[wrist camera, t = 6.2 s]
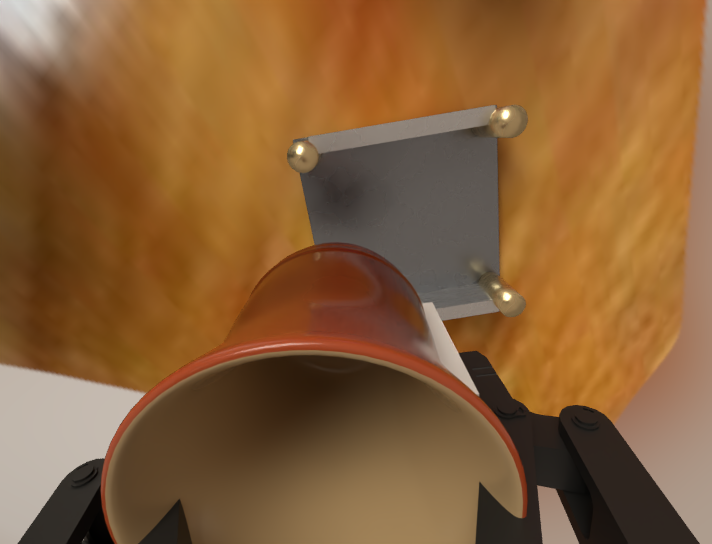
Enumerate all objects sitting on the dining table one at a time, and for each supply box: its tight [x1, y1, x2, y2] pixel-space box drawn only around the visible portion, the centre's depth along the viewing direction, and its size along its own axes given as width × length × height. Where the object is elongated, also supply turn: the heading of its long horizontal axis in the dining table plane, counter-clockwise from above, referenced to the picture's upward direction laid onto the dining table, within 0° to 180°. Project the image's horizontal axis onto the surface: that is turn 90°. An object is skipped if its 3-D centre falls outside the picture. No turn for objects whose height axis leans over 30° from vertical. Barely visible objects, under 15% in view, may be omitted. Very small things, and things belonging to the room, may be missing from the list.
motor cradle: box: [287, 105, 528, 321], centre depth 29 cm, size 16×16×6 cm
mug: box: [101, 242, 528, 544], centre depth 13 cm, size 12×9×10 cm
